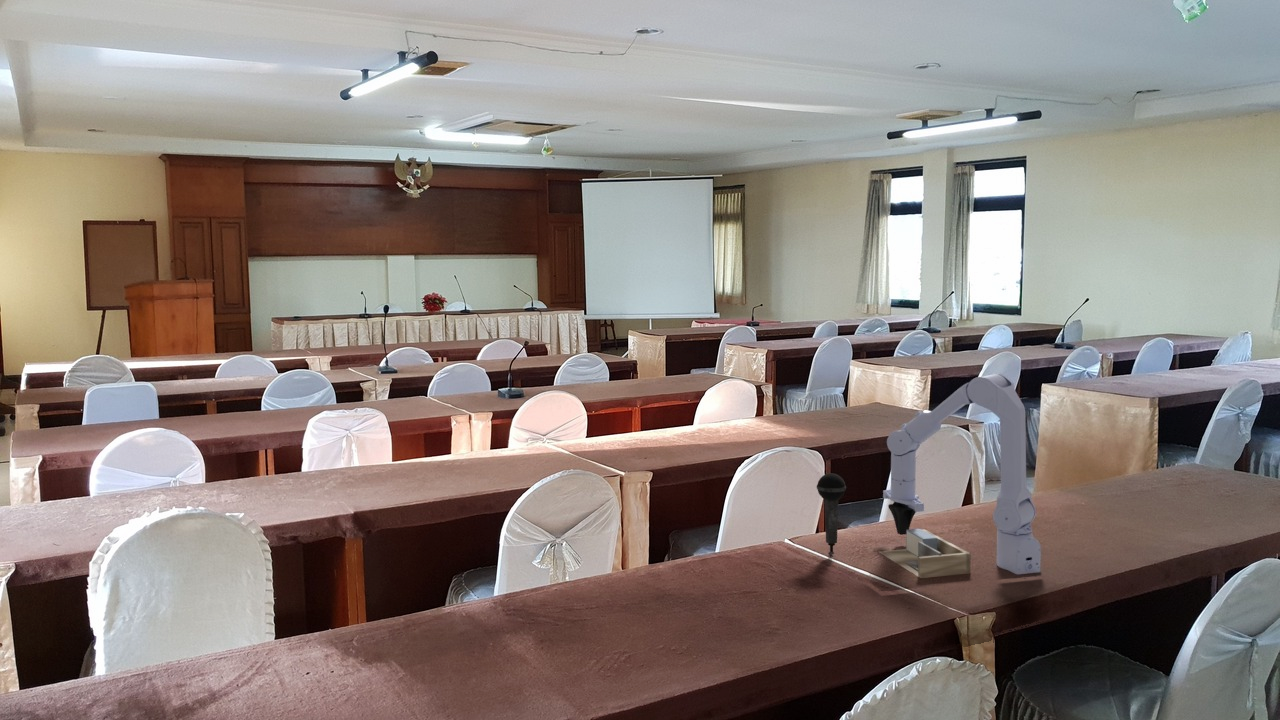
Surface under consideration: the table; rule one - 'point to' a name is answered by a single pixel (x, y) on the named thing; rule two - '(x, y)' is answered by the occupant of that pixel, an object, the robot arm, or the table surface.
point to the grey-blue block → (919, 540)
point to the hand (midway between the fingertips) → (902, 533)
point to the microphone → (831, 504)
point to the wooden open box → (933, 559)
